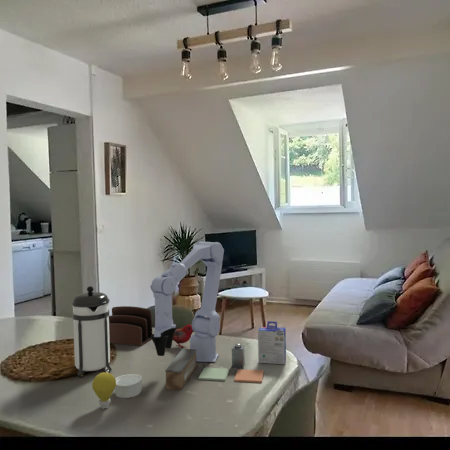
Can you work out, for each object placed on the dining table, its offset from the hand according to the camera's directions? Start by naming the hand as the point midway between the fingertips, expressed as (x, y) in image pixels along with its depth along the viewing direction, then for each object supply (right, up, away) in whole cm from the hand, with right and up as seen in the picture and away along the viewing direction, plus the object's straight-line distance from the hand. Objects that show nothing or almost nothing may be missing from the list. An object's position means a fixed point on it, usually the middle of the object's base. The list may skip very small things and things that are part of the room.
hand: (164, 351), depth 146 cm
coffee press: (-27, -9, +8) cm, 30 cm away
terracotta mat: (+29, -8, -1) cm, 30 cm away
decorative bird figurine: (+1, -7, +31) cm, 32 cm away
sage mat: (+17, -8, +1) cm, 19 cm away
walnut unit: (+6, -8, -1) cm, 10 cm away
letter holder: (-22, -7, +40) cm, 46 cm away
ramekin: (-10, -10, -12) cm, 18 cm away
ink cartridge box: (+38, -7, +12) cm, 41 cm away
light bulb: (-14, -10, -21) cm, 28 cm away
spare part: (+25, -8, +8) cm, 28 cm away
